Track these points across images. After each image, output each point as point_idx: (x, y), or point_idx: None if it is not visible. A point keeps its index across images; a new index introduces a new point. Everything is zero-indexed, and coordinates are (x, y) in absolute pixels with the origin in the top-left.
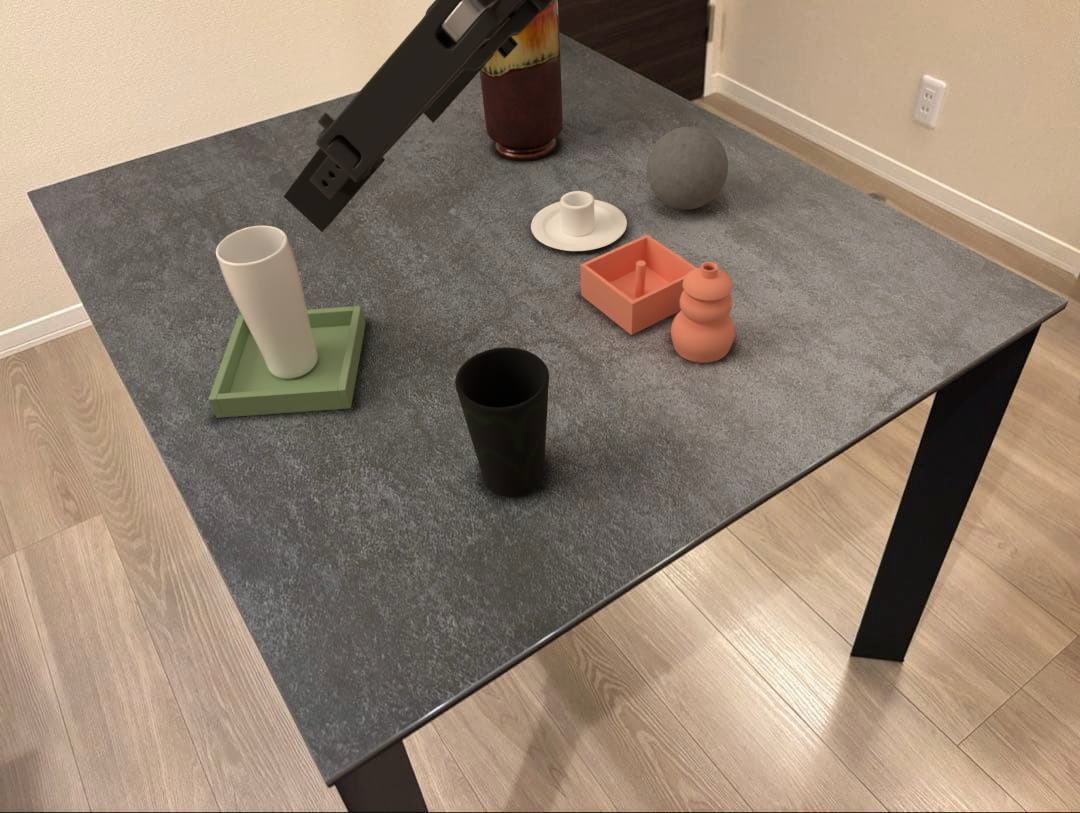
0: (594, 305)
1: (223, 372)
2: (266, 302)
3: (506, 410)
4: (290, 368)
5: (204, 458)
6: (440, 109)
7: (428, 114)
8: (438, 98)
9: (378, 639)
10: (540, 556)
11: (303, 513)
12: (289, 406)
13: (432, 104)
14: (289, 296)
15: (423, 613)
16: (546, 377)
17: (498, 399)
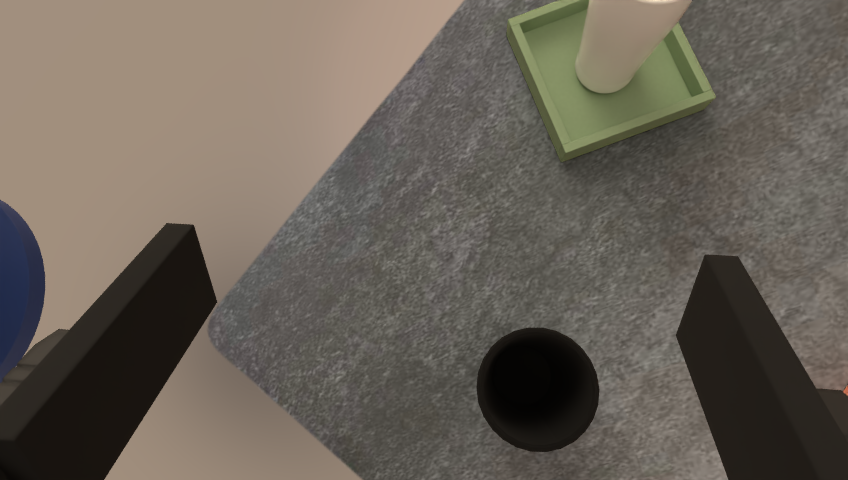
0: (845, 388)
1: (551, 9)
2: (599, 23)
3: (483, 413)
4: (582, 75)
5: (452, 56)
6: (691, 364)
7: (683, 325)
8: (703, 364)
9: (308, 318)
10: (427, 435)
11: (415, 186)
12: (537, 100)
13: (696, 341)
14: (624, 41)
15: (341, 346)
16: (552, 447)
17: (562, 358)
